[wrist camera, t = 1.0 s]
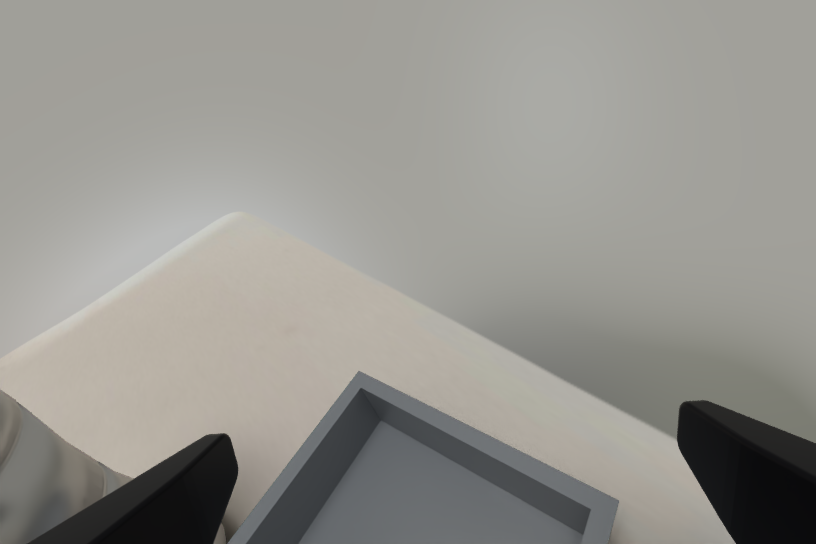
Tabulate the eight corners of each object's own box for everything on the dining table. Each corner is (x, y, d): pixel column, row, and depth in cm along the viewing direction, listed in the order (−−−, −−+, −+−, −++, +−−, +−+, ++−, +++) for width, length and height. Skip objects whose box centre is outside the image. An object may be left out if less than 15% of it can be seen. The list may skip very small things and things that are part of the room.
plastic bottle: (169, 503, 24) (-282, 275, 11) (263, 515, 22) (-147, 258, 9) (95, 645, 20) (-811, 546, 7) (204, 674, 18) (-758, 619, 5)
